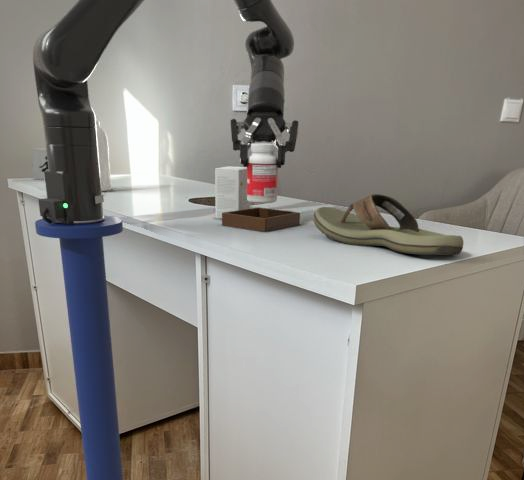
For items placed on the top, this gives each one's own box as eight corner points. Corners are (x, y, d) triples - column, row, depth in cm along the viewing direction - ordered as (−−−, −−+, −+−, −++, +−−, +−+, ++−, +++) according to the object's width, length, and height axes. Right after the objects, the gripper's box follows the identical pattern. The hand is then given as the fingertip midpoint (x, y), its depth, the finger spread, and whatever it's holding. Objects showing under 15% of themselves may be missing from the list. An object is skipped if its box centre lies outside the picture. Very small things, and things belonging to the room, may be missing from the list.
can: (97, 193, 160) (90, 118, 153) (59, 191, 163) (51, 117, 156) (119, 189, 171) (114, 119, 164) (83, 187, 174) (77, 118, 167)
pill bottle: (252, 199, 116) (252, 142, 112) (280, 200, 115) (282, 143, 111) (242, 202, 111) (242, 143, 107) (272, 204, 109) (273, 144, 105)
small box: (227, 213, 128) (227, 165, 124) (250, 215, 126) (251, 166, 122) (214, 218, 121) (214, 167, 117) (238, 220, 119) (239, 169, 115)
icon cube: (42, 176, 205) (38, 148, 201) (70, 177, 206) (67, 148, 202) (34, 179, 195) (30, 149, 192) (63, 179, 196) (60, 149, 193)
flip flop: (302, 235, 104) (304, 188, 101) (347, 229, 111) (351, 186, 108) (430, 265, 83) (438, 208, 80) (476, 257, 90) (485, 203, 86)
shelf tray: (264, 231, 107) (265, 218, 106) (221, 225, 113) (221, 212, 112) (299, 224, 116) (300, 212, 115) (258, 218, 122) (258, 207, 121)
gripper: (230, 85, 112) (224, 150, 105) (301, 86, 111) (299, 151, 105) (232, 114, 119) (227, 176, 112) (299, 115, 118) (298, 178, 112)
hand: (262, 164), depth 108 cm, fingers closed on pill bottle, 6 cm apart
